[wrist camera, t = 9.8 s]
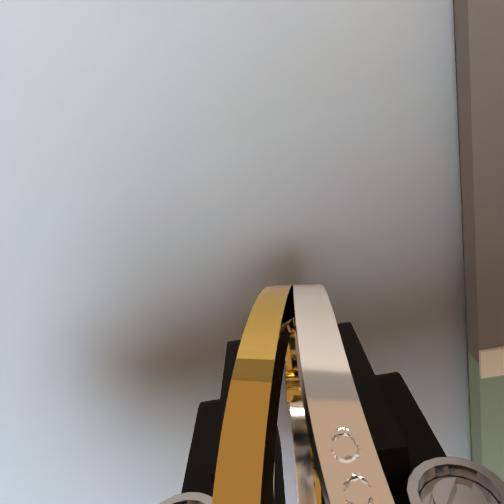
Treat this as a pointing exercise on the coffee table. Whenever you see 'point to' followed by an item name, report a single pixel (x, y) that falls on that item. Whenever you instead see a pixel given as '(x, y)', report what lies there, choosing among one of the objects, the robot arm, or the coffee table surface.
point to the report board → (483, 216)
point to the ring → (296, 408)
